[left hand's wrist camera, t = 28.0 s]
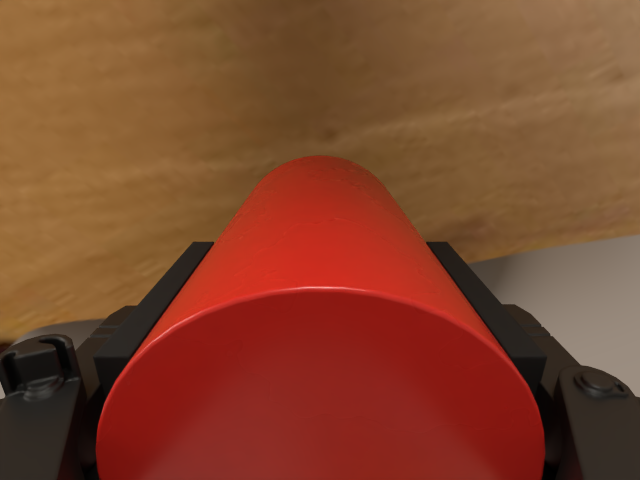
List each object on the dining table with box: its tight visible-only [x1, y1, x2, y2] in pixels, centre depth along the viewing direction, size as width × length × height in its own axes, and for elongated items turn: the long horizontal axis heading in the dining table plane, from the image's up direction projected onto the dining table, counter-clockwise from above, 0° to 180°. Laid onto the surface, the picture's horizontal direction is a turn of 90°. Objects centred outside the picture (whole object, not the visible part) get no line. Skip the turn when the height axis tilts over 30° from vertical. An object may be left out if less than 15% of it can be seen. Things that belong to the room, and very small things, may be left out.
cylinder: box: [96, 156, 545, 480], centre depth 13 cm, size 8×8×13 cm
